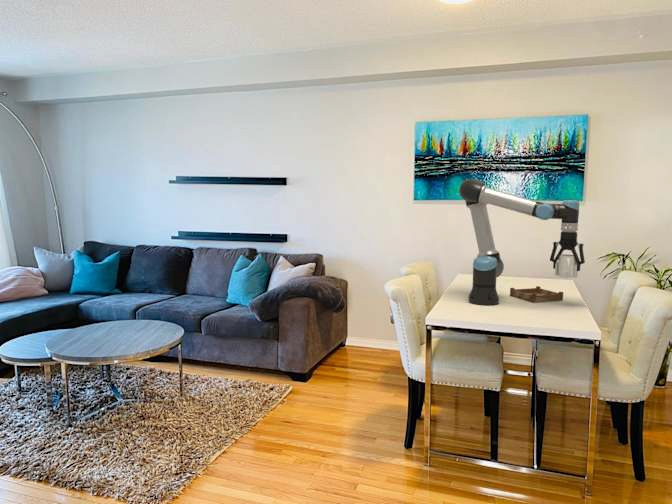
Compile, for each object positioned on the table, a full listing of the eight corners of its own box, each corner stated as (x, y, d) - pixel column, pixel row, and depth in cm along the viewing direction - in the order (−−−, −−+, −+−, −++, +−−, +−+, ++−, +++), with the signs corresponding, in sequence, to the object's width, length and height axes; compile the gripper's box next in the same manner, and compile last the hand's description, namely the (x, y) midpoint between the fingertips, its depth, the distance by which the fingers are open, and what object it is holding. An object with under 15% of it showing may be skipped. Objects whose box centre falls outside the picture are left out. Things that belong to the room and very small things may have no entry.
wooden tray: (509, 295, 286) (510, 287, 285) (538, 294, 292) (538, 286, 292) (533, 302, 268) (533, 294, 267) (562, 300, 274) (563, 292, 274)
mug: (557, 278, 255) (559, 256, 254) (557, 274, 267) (558, 254, 265) (576, 279, 252) (578, 257, 251) (575, 275, 263) (577, 255, 262)
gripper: (544, 230, 260) (541, 274, 263) (590, 233, 248) (587, 279, 250) (548, 229, 266) (545, 273, 269) (594, 232, 254) (590, 277, 256)
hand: (565, 276), depth 260 cm, fingers closed on mug, 9 cm apart
